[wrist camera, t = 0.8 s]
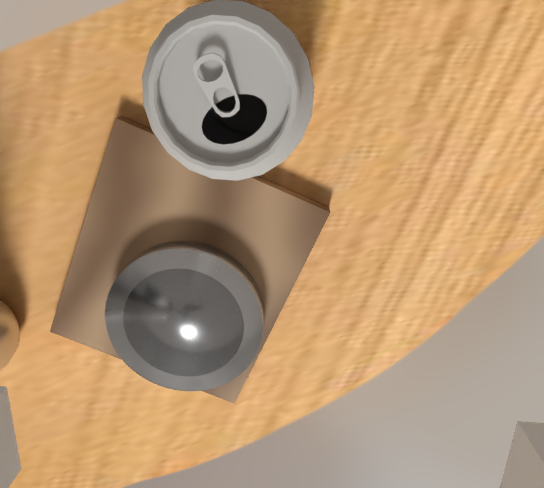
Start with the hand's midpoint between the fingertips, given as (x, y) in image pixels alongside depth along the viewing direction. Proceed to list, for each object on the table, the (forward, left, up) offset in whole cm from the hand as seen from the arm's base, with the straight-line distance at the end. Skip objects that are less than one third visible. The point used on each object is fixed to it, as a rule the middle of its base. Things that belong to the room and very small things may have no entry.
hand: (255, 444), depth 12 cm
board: (-5, -7, -22) cm, 23 cm away
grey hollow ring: (-3, -9, -21) cm, 23 cm away
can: (-5, +7, -22) cm, 24 cm away
